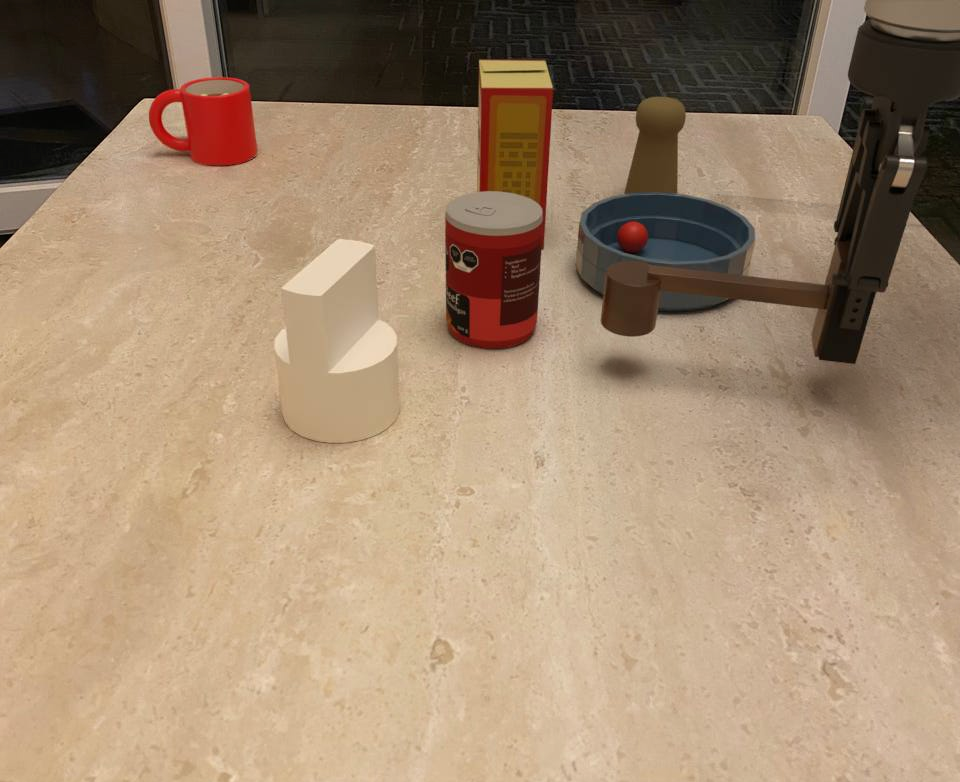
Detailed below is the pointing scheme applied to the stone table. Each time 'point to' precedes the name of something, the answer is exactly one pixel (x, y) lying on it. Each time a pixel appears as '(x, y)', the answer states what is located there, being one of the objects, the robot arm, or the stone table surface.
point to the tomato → (632, 237)
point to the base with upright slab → (337, 349)
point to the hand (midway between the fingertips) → (834, 345)
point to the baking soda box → (514, 128)
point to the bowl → (666, 240)
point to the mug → (210, 120)
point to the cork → (656, 146)
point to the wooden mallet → (707, 292)
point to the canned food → (492, 268)
